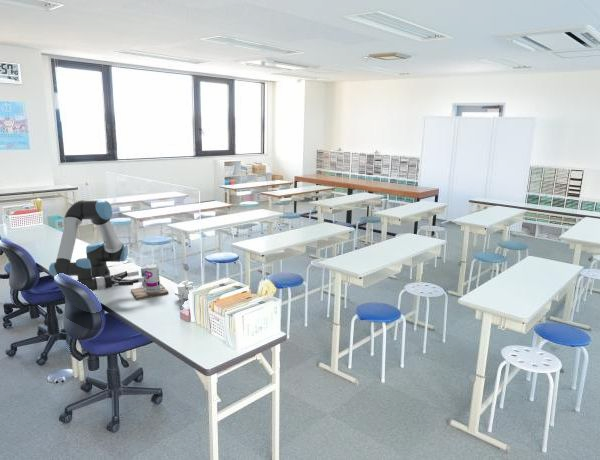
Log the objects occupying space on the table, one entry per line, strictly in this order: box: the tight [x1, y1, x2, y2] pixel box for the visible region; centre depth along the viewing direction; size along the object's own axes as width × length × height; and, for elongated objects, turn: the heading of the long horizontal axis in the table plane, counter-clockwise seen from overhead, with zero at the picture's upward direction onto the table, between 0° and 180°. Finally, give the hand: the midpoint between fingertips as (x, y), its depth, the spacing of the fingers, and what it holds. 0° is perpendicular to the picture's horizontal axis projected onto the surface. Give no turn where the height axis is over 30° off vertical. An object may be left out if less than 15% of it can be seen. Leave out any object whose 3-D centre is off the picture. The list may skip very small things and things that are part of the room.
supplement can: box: [145, 264, 161, 291], centre depth 279 cm, size 8×8×15 cm
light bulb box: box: [140, 263, 159, 285], centre depth 298 cm, size 11×7×11 cm, turn 169°
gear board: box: [130, 283, 169, 301], centre depth 280 cm, size 16×19×2 cm
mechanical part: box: [174, 279, 196, 302], centre depth 268 cm, size 11×12×12 cm
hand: (141, 276), depth 275 cm, fingers open, 13 cm apart
